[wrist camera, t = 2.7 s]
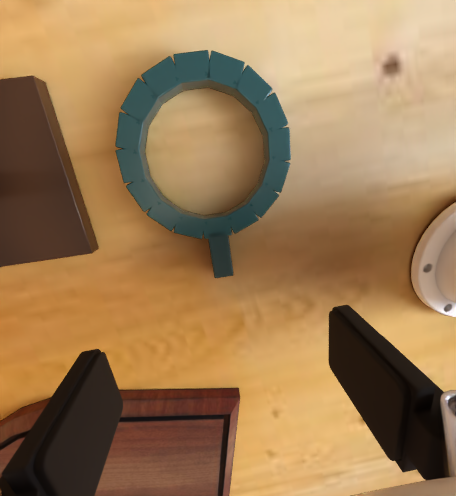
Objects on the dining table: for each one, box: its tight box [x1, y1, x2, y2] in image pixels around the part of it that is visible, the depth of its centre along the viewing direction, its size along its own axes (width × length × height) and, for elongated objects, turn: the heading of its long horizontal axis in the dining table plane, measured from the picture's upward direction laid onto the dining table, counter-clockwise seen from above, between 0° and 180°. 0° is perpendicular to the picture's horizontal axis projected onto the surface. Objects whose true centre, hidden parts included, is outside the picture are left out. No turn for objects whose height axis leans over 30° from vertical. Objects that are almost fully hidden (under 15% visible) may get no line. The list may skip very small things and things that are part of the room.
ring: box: [116, 50, 291, 278], centre depth 18 cm, size 12×16×2 cm
